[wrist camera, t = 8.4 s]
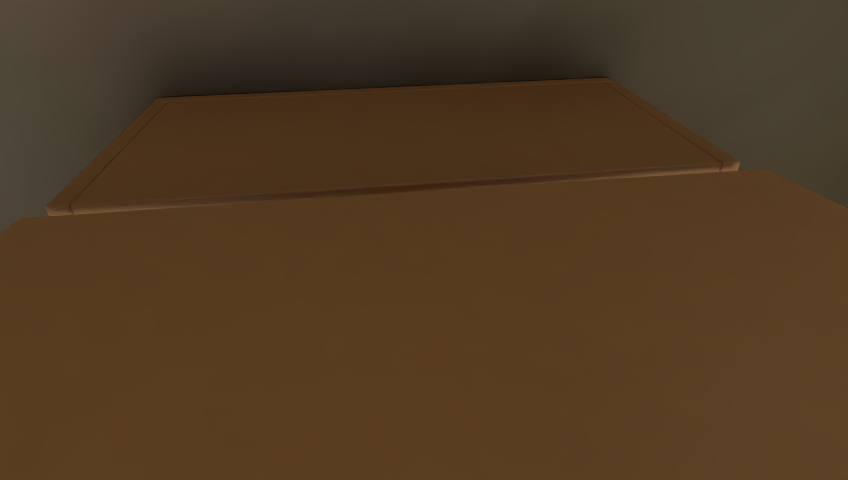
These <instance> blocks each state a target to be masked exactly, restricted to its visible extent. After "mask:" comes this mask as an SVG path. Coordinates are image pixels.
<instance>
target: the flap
mask: <svg viewBox="0 0 848 480" xmlns="http://www.w3.org/2000/svg"><path fill="white" fill-rule="evenodd" d="M0 480H848V209H847V208H845V207H843V206H841V205H839V204H837V203H835V202H833V201H831V200H829V199H827V198H825V197H823V196H821V195H819V194H817V193H814V192H812V191H810V190H808V189H806V188H804V187H802V186H800V185H798V184H796V183H794V182H792V181H790V180H788V179H786V178H784V177H782V176H779V175H777V174H775V173H773V172H771V171H769V170H767V169H754V170H739V171H724V172H709V173H694V174H679V175H664V176H648V177H633V178H618V179H603V180H588V181H573V182H558V183H543V184H528V185H513V186H498V187H483V188H467V189H452V190H437V191H422V192H407V193H392V194H377V195H362V196H347V197H332V198H317V199H302V200H287V201H271V202H256V203H241V204H226V205H211V206H196V207H181V208H166V209H151V210H136V211H121V212H106V213H90V214H75V215H60V216H45V217H30V218H21V219H19V220H18V221H16V222H15V223H14V224H12V225H11V226H10V227H8V228H7V229H6V230H4V231H3V232H2V233H0Z"/></svg>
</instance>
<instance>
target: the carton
mask: <svg viewBox="0 0 848 480" xmlns="http://www.w3.org/2000/svg"><path fill="white" fill-rule="evenodd" d="M739 165H740V162H739V161H738V160H736V159H735V158H733V157H731V156H730V155H728V154H727V153H725V152H724V151H722V150H721V149H719V148H718V147H716V146H714V145H713V144H711V143H710V142H708V141H707V140H705V139H704V138H702V137H701V136H699V135H697V134H696V133H694V132H693V131H691V130H690V129H688V128H687V127H685V126H684V125H682V124H680V123H679V122H677V121H676V120H674V119H673V118H671V117H670V116H668V115H666V114H665V113H663V112H662V111H660V110H659V109H657V108H656V107H654V106H653V105H651V104H649V103H648V102H646V101H645V100H643V99H642V98H640V97H639V96H637V95H636V94H634V93H632V92H631V91H629V90H628V89H626V88H625V87H623V86H622V85H620V84H619V83H617V82H615V81H614V80H612V79H611V78H588V79H565V80H543V81H521V82H498V83H476V84H454V85H431V86H409V87H387V88H365V89H342V90H320V91H298V92H275V93H253V94H231V95H208V96H186V97H164V98H157V99H156V100H155V101H154V103H152V104H151V105H150V106H149V107H148V108H147V109H146V110H145V111H144V112H143V113H142V114H141V115H140V116H139V117H138V118H136V119H135V120H134V121H133V122H132V123H131V124H130V125H129V126H128V127H127V128H126V129H125V130H124V131H123V132H122V133H121V134H120V135H119V136H118V137H117V138H116V139H115V140H114V141H113V142H112V143H111V144H110V145H109V146H108V147H107V148H106V149H104V150H103V151H102V152H101V153H100V154H99V155H98V156H97V157H96V158H95V159H94V160H93V161H92V162H91V163H90V164H89V165H88V166H87V167H86V168H85V169H84V170H83V171H82V172H81V173H80V174H79V175H78V176H77V177H76V178H75V179H74V180H72V181H71V182H70V183H69V184H68V185H67V186H66V187H65V188H64V189H63V190H62V191H61V192H60V193H59V194H58V195H57V196H56V197H55V198H54V199H53V200H52V201H51V202H50V203H49V204H48V205H47V206H46V210H47V212H48V214H49V216H60V215H75V214H90V213H106V212H121V211H136V210H151V209H166V208H181V207H196V206H211V205H226V204H241V203H256V202H271V201H287V200H302V199H317V198H332V197H347V196H362V195H377V194H392V193H407V192H422V191H437V190H452V189H467V188H483V187H498V186H513V185H528V184H543V183H558V182H573V181H588V180H603V179H618V178H633V177H648V176H664V175H679V174H694V173H709V172H724V171H737V170H738V167H739Z"/></svg>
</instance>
